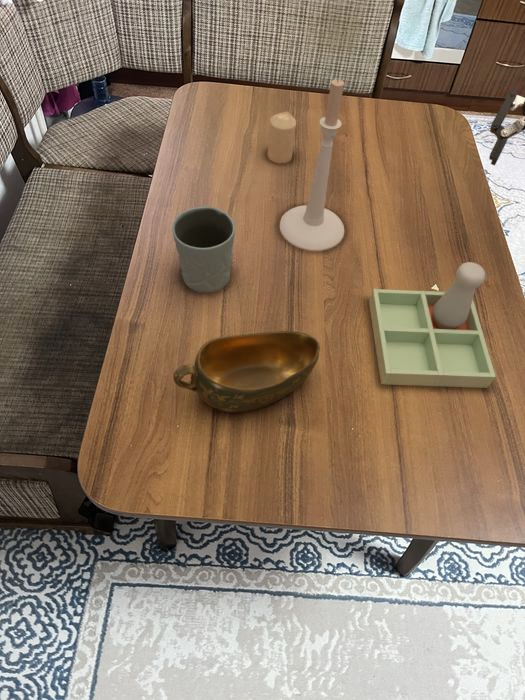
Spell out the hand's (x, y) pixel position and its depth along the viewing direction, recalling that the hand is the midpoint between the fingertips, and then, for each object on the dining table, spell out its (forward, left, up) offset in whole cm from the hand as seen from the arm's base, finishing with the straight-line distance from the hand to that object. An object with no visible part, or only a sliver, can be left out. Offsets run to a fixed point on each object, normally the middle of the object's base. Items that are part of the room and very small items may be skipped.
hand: (520, 173), depth 82 cm
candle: (+35, -34, -23) cm, 53 cm away
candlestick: (+29, -11, -23) cm, 38 cm away
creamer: (+41, +26, -23) cm, 54 cm away
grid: (+11, +16, -23) cm, 30 cm away
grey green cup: (+49, +3, -23) cm, 54 cm away
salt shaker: (+7, +12, -22) cm, 26 cm away
